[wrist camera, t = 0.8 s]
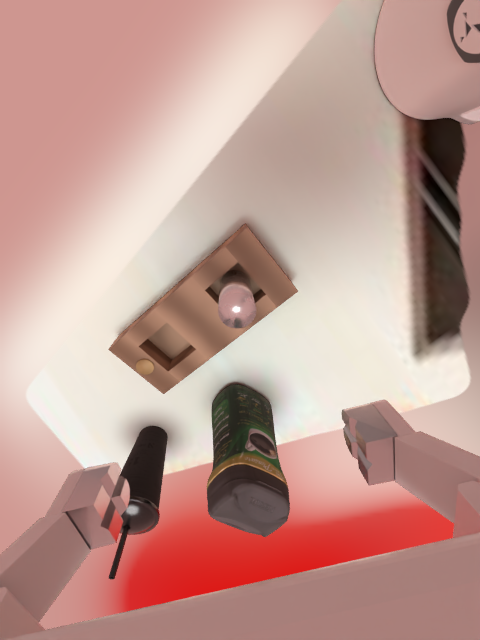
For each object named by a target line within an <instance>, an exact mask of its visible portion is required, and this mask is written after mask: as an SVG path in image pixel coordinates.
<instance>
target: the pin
mask: <svg viewBox="0 0 480 640" xmlns="http://www.w3.org/2000/svg"><path fill="white" fill-rule="evenodd" d="M218 314H219V317H220V319H221V321H222V322H223V323H224V324H225V325H227V326H228V327H231V328H243V327H246V326H248V325H249V324H250V323H251V322H252V321H253V320H254V318H255V316H256V305H255V301H254V297H253V293H252V289H251V285H250V281H249V279H248V277H247V275H246V274H244V273H243V272H241V271H237V270H233V271H229V272H227V273H226V274H225V275H224V276H223V277H222V279H221V281H220V292H219V306H218Z"/></svg>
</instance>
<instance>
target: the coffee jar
mask: <svg viewBox="0 0 480 640" xmlns="http://www.w3.org/2000/svg"><path fill="white" fill-rule="evenodd" d="M212 428H213V452H214V460H213V470H212V473H211V475H210V477H209V479H208V483H207V500H208V512H209V514H210V516H211V517H212V518H213V519H215V520H217V521H219V522H222V523H224V524H227V525H229V526H232V527H235V528H237V529H240V530H243V531H245V532H249V533H253V534H258V535H262V536H263V537H266V536H268V535H269V534H271V533H272V532H274V531H275V530H277V529H278V528H279V527H281V526H282V525H283V524H284V523H285V522H286V521H287V519H288V515H289V510H290V507H289V506H290V503H289V492H288V485H287V482H286V479H285V477H284V475H283V472H282V470H281V467H280V463H279V459H278V454H277V447H276V440H275V433H274V423H273V415H272V409H271V405H270V403H269V401H268V400H267V399H265V398H264V397H263V396H261V395H260V394H258V393H257V392H255V391H253V390H251V389H249V388H247V387H245V386H242V385H238V384H235V385H231V386H228V387H226V388H225V389H224V390H222V391H221V392H220V393H219V394H218V396H217V397H216V398H215V400H214V402H213V404H212Z"/></svg>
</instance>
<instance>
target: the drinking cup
mask: <svg viewBox="0 0 480 640" xmlns="http://www.w3.org/2000/svg"><path fill="white" fill-rule="evenodd" d="M166 445H167V434H166V432H165V431H164V430H163V429H161V428H159V427H156V426H149V427H146V428H144V429H143V430H142V431H141V432H140V434H139V436H138V438H137V440H136V442H135V444H134V447H133V449H132V451H131V453H130V455H129V457H128V459H127V461H126V463H125V465H124V467H123V469H122V471H121V474H120V476H122V477H124V478H126V480H127V482H128V484H129V488H130V500H129V503H128V507H127V509H126V510H125V511H124V512H123V514H122V515H121V518H122V520H123V523H122V526H121V530H120V533H122V535H121V539H120V542H119V545H118V549H117V552H116V555H115V558H114V562H113V565H112V568H111V572H110V575H109V579H114V578H115V576H116V572H117V569H118V565H119V562H120V558H121V555H122V551H123V548H124V545H125V541H126V538H127V534H128V535H135V534H141V533H145V532H148V531H150V530H152V529H153V528H154V527H155V526H156V525H157V524H158V521H159V517H160V516H159V515H160V514H159V510H158V509H159V501H160V493H161V485H162V477H163V469H164V461H165V453H166Z"/></svg>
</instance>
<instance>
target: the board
mask: <svg viewBox="0 0 480 640" xmlns="http://www.w3.org/2000/svg"><path fill="white" fill-rule="evenodd" d="M233 270H237V271H241V272H243V273H244V274H246V275H247V277H248V279H249V281H250V285H251V289H252V293H253V297H254V301H255V305H256V316H255V318H254V320H253V321H252V322H251V323H250V324H249V325H248V326H246V327H243V328H231V327H228V326H227V325H225V324H224V323H223V322H222V321H221V319H220V317H219V314H218V306H219V292H220V281H221V279H222V277H223V276H224V275H225V274H226V273H227V272H229V271H233ZM297 292H298V290H297V289H296V288H295V286H294V285H293V283H292V282H291V281H290V279H289V278H288V277H287V276H286V274H285V273H284V272H283V271H282V269H281V268H280V267H279V266H278V264H277V263H276V262H275V261H274V259H273V258H272V257H271V255H270V254H269V253H268V252H267V250H266V249H265V248H264V247H263V245H262V244H261V243H260V242H259V240H258V239H257V238H256V237H255V235H254V234H253V233H252V232H251V230H250V229H249V228H248V226H247V225H246V224H244V225H243V226H242V227H241V228H240V229H239V230H238V231H237V232H235V233H234V234H233V235H232V236H231V237H230V238H229V239H228V240H226V241H225V242H224V243H223V244H222V245H221V246H220V247H218V248H217V249H216V250H215V251H214V252H213V253H212V254H211V255H209V256H208V257H207V258H206V259H205V260H204V261H203V262H201V263H200V264H199V265H198V266H197V267H196V268H195V269H194V270H192V271H191V272H190V273H189V274H188V275H187V276H186V277H184V278H183V279H182V280H181V281H180V282H179V283H178V284H177V285H175V286H174V287H173V288H172V289H171V290H170V291H169V292H168V293H166V294H165V295H164V296H163V297H162V298H161V299H160V300H158V301H157V302H156V303H155V304H154V305H153V306H152V307H151V308H149V309H148V310H147V311H146V312H145V313H144V314H143V315H141V316H140V317H139V318H138V319H137V320H136V321H135V322H134V323H132V324H131V325H130V326H129V327H128V328H127V329H126V330H125V331H123V332H122V333H121V334H120V335H119V336H118V337H117V339H116V340H115V341H114V343H113V344H112V345H111V347H110V348H109V349H108V350H110V351H111V352H112V353H113V354H115V355H116V356H117V357H118V358H120V359H121V360H122V361H123V362H124V363H126V364H127V365H128V366H129V367H131V368H132V369H133V370H134V371H136V372H137V373H138V374H139V375H141V376H142V377H143V378H144V379H146V380H147V381H148V382H149V383H151V384H152V385H153V386H154V387H155V388H157V389H158V390H159V391H160V392H162V393H163V394H165V393H166V392H167V391H168V390H170V389H171V388H172V387H174V386H175V385H176V384H178V383H179V382H180V381H182V380H183V379H184V378H185V377H187V376H188V375H189V374H191V373H192V372H193V371H195V370H196V369H197V368H199V367H200V366H201V365H202V364H204V363H205V362H206V361H208V360H209V359H210V358H212V357H213V356H214V355H216V354H217V353H218V352H219V351H221V350H222V349H223V348H225V347H226V346H227V345H229V344H230V343H231V342H233V341H234V340H235V339H236V338H238V337H239V336H240V335H242V334H243V333H244V332H246V331H247V330H248V329H250V328H251V327H252V326H253V325H255V324H256V323H257V322H259V321H260V320H261V319H263V318H264V317H265V316H267V315H268V314H269V313H270V312H272V311H273V310H274V309H276V308H277V307H278V306H280V305H281V304H282V303H284V302H285V301H286V300H287V299H289V298H290V297H291V296H293V295H294V294H295V293H297Z"/></svg>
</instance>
